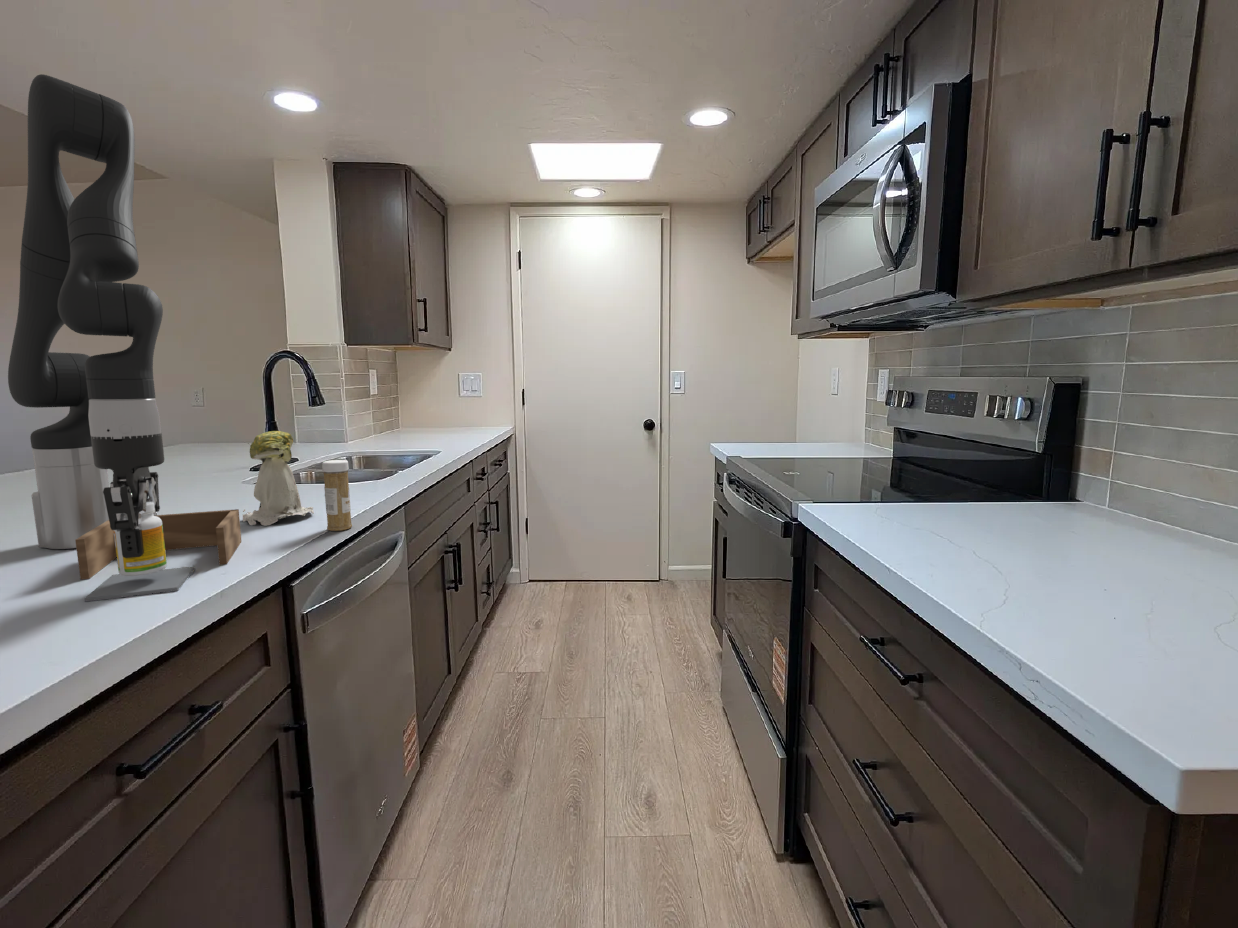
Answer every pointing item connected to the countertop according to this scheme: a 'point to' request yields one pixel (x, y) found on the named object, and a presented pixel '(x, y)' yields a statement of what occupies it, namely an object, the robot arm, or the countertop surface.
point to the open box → (166, 538)
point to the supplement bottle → (152, 546)
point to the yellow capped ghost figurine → (274, 479)
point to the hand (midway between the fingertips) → (140, 550)
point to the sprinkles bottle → (337, 495)
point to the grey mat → (141, 584)
